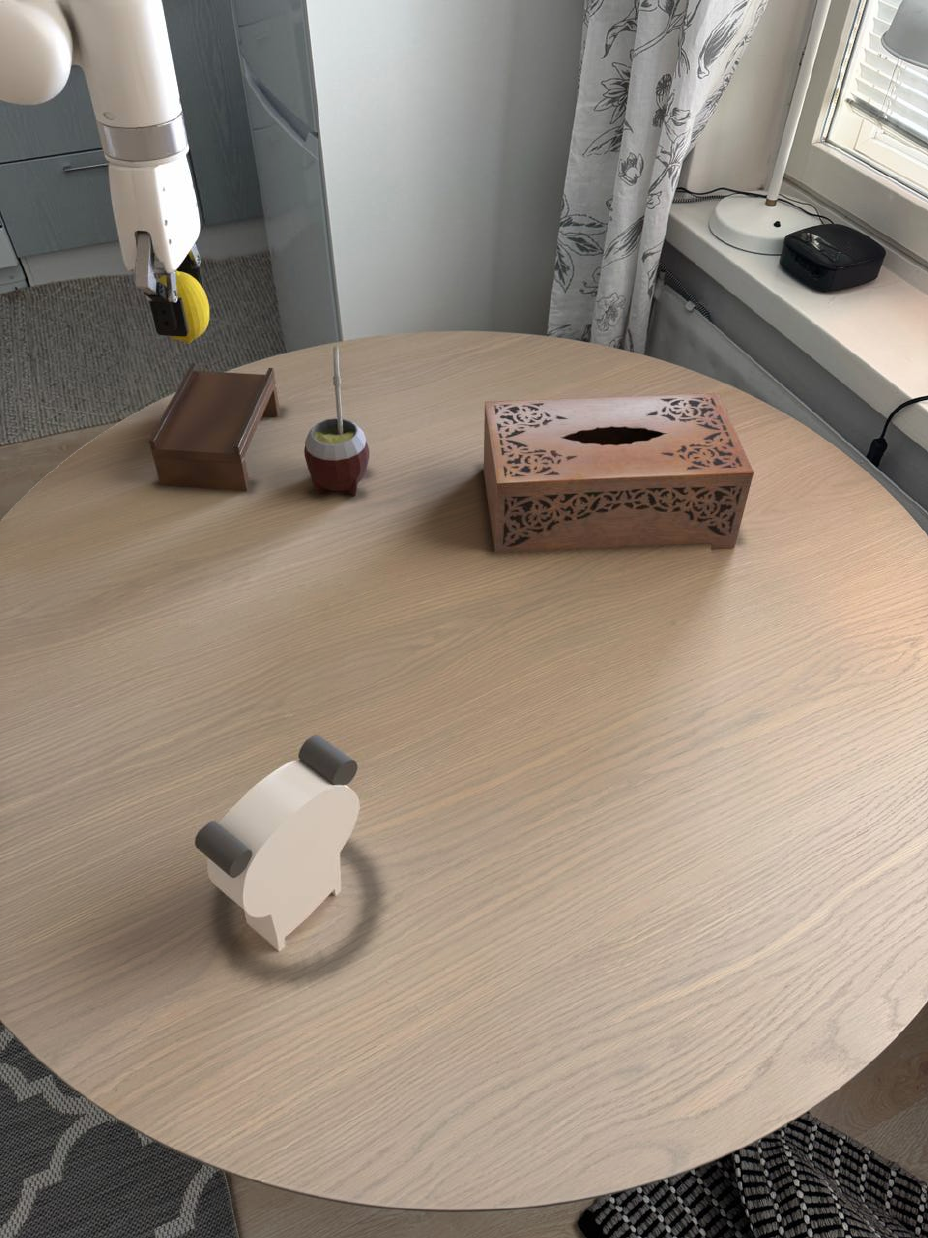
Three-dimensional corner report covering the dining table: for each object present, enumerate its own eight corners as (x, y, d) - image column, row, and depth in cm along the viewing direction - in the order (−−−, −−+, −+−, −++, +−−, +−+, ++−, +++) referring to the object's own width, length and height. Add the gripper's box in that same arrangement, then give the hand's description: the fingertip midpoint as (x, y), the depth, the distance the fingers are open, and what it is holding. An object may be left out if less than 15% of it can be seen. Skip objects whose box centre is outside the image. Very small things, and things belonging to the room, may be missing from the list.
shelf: (162, 491, 113) (148, 440, 108) (202, 412, 124) (191, 362, 119) (248, 497, 112) (238, 446, 107) (281, 417, 124) (273, 367, 119)
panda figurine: (306, 816, 83) (283, 700, 72) (408, 895, 78) (399, 783, 67) (193, 919, 76) (149, 808, 66) (296, 1012, 71) (267, 909, 61)
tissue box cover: (702, 466, 117) (718, 392, 110) (734, 547, 107) (754, 472, 99) (483, 475, 115) (484, 401, 108) (494, 558, 105) (497, 483, 98)
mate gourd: (332, 517, 110) (318, 401, 99) (294, 483, 114) (276, 368, 104) (387, 491, 113) (379, 375, 103) (348, 458, 118) (336, 344, 107)
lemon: (207, 325, 107) (193, 253, 102) (221, 349, 104) (207, 276, 98) (156, 336, 106) (139, 263, 100) (168, 361, 102) (151, 288, 96)
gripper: (135, 100, 96) (173, 277, 109) (66, 170, 84) (118, 360, 97) (211, 103, 96) (240, 281, 108) (152, 174, 84) (193, 365, 96)
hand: (182, 317), depth 103 cm, fingers closed on lemon, 5 cm apart
